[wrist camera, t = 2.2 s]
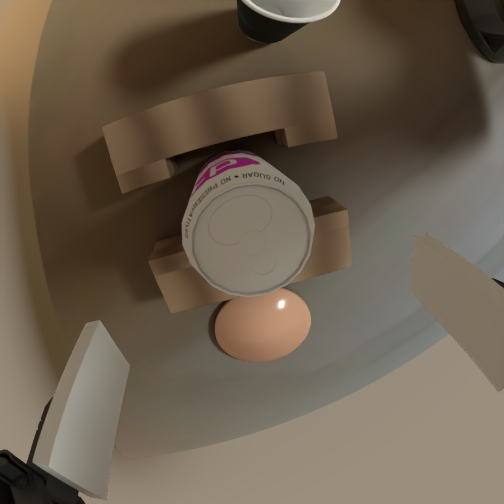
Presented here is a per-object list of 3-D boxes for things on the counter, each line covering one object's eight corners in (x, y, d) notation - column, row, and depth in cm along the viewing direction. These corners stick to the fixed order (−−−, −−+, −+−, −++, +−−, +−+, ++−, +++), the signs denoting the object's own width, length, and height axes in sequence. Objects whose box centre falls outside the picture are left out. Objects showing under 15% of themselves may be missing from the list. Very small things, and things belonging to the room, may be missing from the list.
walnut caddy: (307, 78, 25) (324, 70, 20) (335, 246, 34) (351, 266, 29) (119, 126, 25) (101, 127, 20) (176, 288, 34) (171, 313, 29)
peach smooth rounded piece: (303, 273, 35) (305, 276, 34) (313, 344, 41) (314, 348, 40) (201, 299, 35) (201, 303, 34) (229, 366, 40) (230, 369, 40)
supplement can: (182, 172, 28) (150, 218, 14) (253, 135, 27) (290, 145, 14) (219, 235, 31) (223, 323, 18) (285, 202, 31) (339, 267, 17)
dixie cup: (210, 32, 22) (207, -14, 12) (253, -15, 19) (272, -68, 9) (274, 70, 24) (307, 42, 14) (314, 22, 22) (359, -16, 12)
